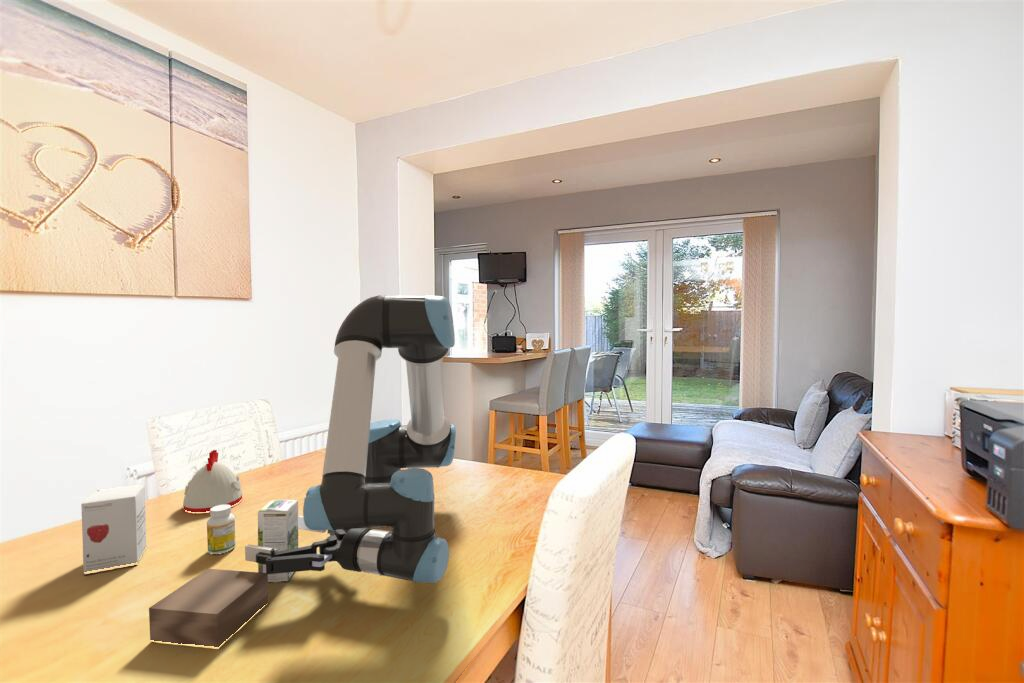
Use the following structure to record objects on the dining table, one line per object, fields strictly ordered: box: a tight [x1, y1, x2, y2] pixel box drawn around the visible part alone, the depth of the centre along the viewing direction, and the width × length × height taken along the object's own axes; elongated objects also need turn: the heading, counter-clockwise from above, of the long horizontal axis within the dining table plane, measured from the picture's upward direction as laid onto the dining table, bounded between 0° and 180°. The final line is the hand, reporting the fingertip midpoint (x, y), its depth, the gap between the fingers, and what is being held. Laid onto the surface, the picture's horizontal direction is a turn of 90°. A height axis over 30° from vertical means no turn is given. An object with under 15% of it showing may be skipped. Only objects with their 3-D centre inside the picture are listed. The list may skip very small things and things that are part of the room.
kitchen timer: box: [182, 449, 243, 512], centre depth 131 cm, size 14×14×15 cm
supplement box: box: [80, 483, 147, 573], centre depth 100 cm, size 9×9×15 cm
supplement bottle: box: [206, 504, 237, 555], centre depth 105 cm, size 5×5×10 cm
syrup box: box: [257, 499, 299, 583], centre depth 94 cm, size 6×6×14 cm
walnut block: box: [148, 568, 269, 647], centre depth 80 cm, size 12×12×6 cm
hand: (274, 536), depth 94 cm, fingers open, 13 cm apart
